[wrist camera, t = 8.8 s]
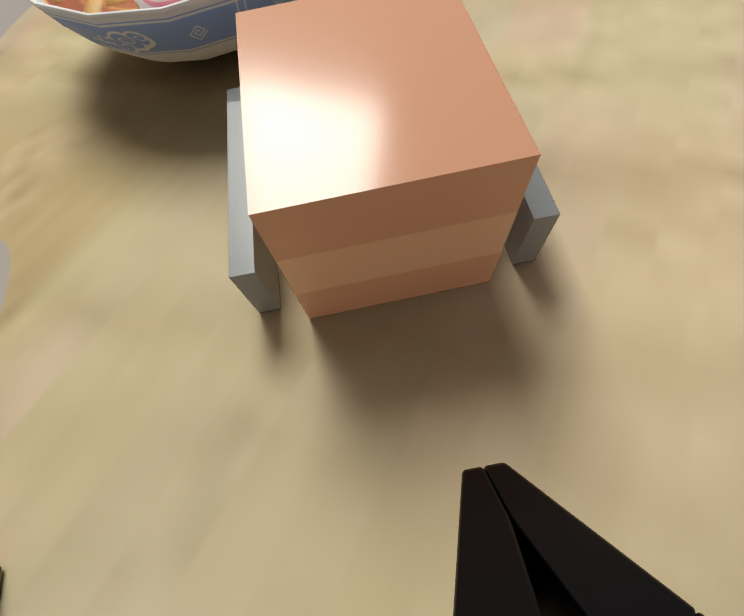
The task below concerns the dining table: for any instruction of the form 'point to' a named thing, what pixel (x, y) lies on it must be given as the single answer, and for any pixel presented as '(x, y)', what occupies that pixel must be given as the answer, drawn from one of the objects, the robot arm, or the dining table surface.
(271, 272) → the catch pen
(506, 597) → the robot arm
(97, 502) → the dining table surface
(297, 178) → the tile stack
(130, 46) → the ramen bowl
